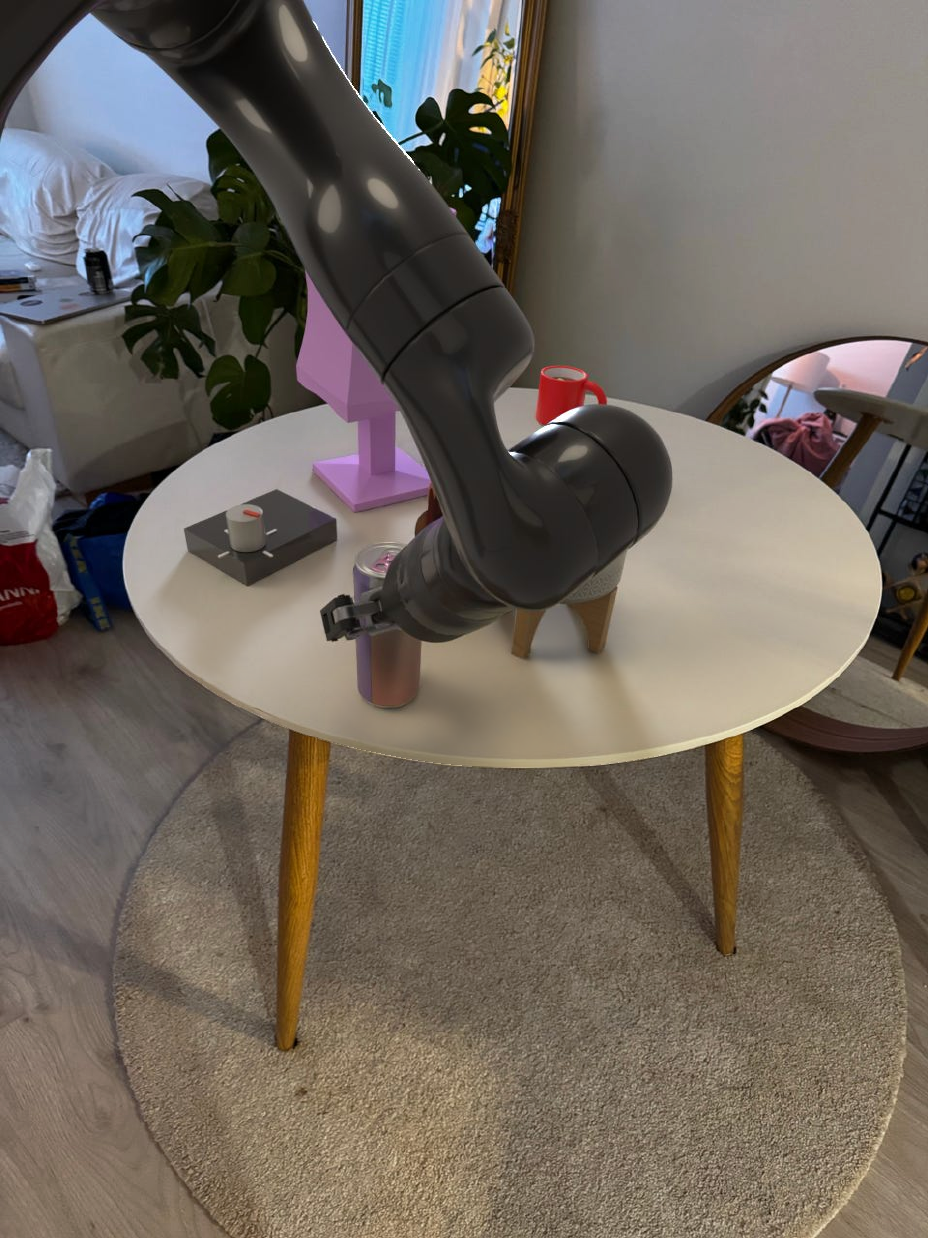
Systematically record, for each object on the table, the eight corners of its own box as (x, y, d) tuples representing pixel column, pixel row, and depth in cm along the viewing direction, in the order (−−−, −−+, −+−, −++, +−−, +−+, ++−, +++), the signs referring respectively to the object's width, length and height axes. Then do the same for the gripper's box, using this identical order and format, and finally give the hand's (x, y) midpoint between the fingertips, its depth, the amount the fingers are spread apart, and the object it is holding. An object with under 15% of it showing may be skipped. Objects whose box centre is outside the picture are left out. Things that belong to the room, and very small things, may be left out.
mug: (595, 437, 124) (603, 390, 119) (528, 421, 128) (533, 374, 123) (610, 422, 130) (618, 376, 125) (545, 406, 134) (551, 362, 129)
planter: (528, 579, 89) (546, 438, 79) (627, 621, 84) (662, 475, 73) (465, 632, 81) (477, 481, 70) (572, 683, 75) (602, 527, 64)
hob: (245, 594, 84) (242, 570, 82) (179, 553, 89) (174, 530, 87) (343, 542, 94) (342, 520, 92) (278, 509, 99) (276, 487, 97)
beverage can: (345, 697, 72) (338, 564, 63) (379, 662, 76) (377, 533, 67) (398, 720, 70) (399, 586, 60) (431, 682, 74) (436, 552, 65)
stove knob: (222, 547, 86) (217, 513, 83) (244, 531, 89) (239, 498, 86) (252, 556, 84) (248, 522, 82) (273, 539, 87) (269, 506, 85)
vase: (399, 449, 116) (401, 190, 95) (452, 492, 106) (468, 212, 85) (303, 469, 109) (283, 193, 88) (351, 517, 99) (340, 218, 78)
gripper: (362, 656, 47) (324, 678, 63) (559, 612, 52) (480, 642, 68) (335, 542, 48) (304, 591, 63) (533, 509, 53) (459, 562, 68)
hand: (395, 618), depth 65 cm, fingers open, 8 cm apart
